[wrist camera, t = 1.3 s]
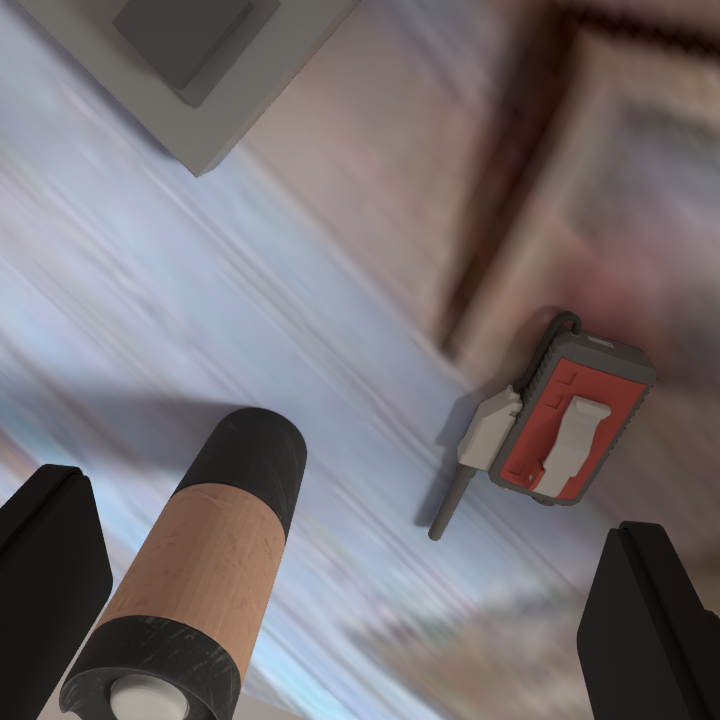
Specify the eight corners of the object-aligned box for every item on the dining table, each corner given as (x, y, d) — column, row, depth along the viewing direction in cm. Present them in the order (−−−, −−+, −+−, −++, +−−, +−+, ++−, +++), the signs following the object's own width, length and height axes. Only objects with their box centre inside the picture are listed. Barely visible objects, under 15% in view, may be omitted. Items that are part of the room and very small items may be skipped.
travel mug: (326, 428, 41) (249, 705, 24) (291, 502, 45) (202, 790, 27) (225, 388, 41) (68, 641, 23) (198, 466, 44) (44, 737, 26)
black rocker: (193, -62, 25) (186, -72, 24) (254, 6, 26) (250, 0, 25) (121, 27, 26) (111, 22, 25) (182, 90, 27) (175, 88, 26)
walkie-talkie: (527, 291, 35) (419, 521, 45) (539, 320, 32) (418, 565, 41) (661, 334, 36) (525, 554, 45) (689, 368, 32) (534, 600, 41)
